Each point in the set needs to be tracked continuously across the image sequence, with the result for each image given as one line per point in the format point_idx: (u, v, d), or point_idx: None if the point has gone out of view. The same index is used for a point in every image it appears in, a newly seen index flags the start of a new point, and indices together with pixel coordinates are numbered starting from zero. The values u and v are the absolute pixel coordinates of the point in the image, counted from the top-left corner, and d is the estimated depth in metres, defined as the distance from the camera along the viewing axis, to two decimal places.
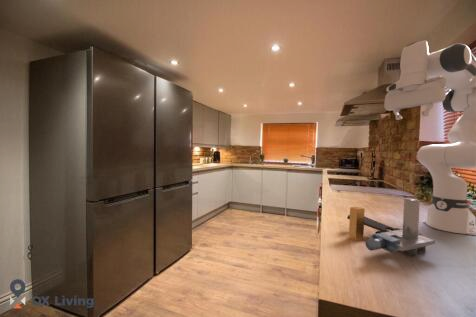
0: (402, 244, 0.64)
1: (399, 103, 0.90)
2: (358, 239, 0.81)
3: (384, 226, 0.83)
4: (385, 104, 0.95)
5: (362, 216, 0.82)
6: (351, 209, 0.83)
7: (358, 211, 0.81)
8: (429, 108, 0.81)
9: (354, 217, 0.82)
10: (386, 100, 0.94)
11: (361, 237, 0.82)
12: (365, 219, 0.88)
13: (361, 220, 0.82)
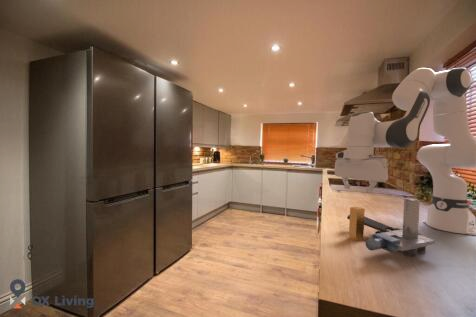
0: (402, 244, 0.64)
1: (347, 173, 0.85)
2: (358, 239, 0.81)
3: (384, 226, 0.83)
4: (335, 170, 0.90)
5: (362, 216, 0.82)
6: (351, 209, 0.83)
7: (358, 211, 0.81)
8: (373, 186, 0.77)
9: (354, 217, 0.82)
10: (336, 166, 0.90)
11: (361, 237, 0.82)
12: (365, 219, 0.88)
13: (361, 220, 0.82)
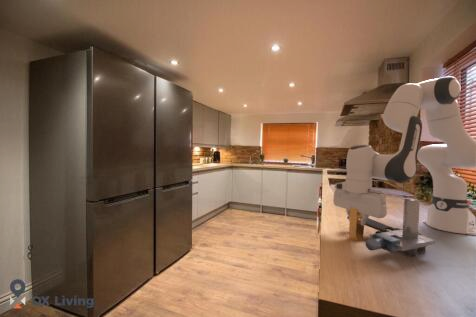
0: (402, 244, 0.64)
1: (346, 204, 0.85)
2: (358, 239, 0.81)
3: (384, 226, 0.83)
4: (334, 200, 0.91)
5: None
6: (351, 209, 0.83)
7: None
8: (365, 218, 0.79)
9: (354, 217, 0.82)
10: (335, 196, 0.90)
11: (361, 237, 0.82)
12: None
13: None
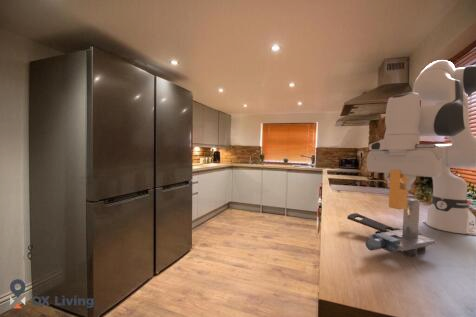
0: (402, 244, 0.64)
1: (384, 167, 0.71)
2: (401, 207, 0.67)
3: (384, 226, 0.83)
4: (367, 164, 0.76)
5: (406, 179, 0.67)
6: (392, 171, 0.68)
7: None
8: (411, 181, 0.65)
9: (396, 180, 0.67)
10: (369, 160, 0.75)
11: (405, 205, 0.67)
12: (365, 219, 0.88)
13: None
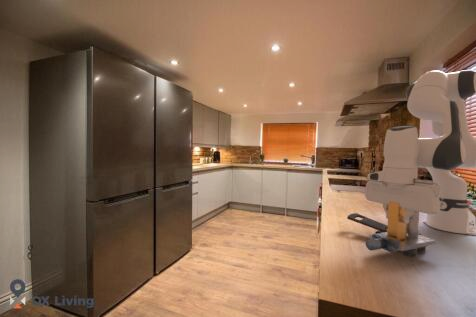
0: (402, 244, 0.64)
1: (383, 198, 0.71)
2: None
3: (384, 226, 0.83)
4: (366, 193, 0.76)
5: (404, 212, 0.67)
6: (390, 204, 0.68)
7: None
8: (409, 215, 0.65)
9: (394, 213, 0.67)
10: (367, 189, 0.76)
11: (403, 238, 0.68)
12: (365, 219, 0.88)
13: None
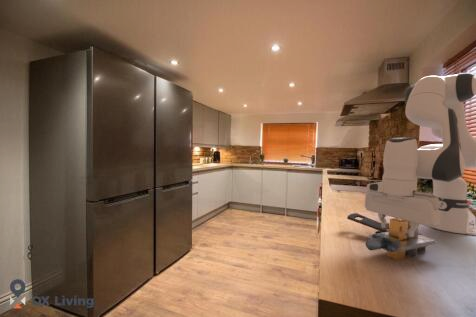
0: (402, 244, 0.64)
1: (382, 209, 0.71)
2: (399, 258, 0.67)
3: None
4: (366, 203, 0.76)
5: None
6: (391, 221, 0.68)
7: (402, 225, 0.66)
8: (415, 228, 0.64)
9: (395, 231, 0.67)
10: (367, 199, 0.76)
11: (402, 255, 0.68)
12: (365, 219, 0.88)
13: (404, 234, 0.67)
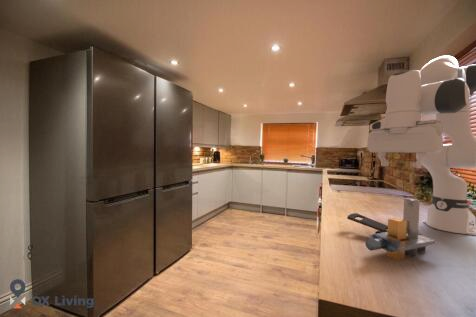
0: (402, 244, 0.64)
1: (385, 146, 0.71)
2: (399, 258, 0.67)
3: (384, 226, 0.83)
4: (368, 145, 0.76)
5: (404, 229, 0.68)
6: (390, 221, 0.69)
7: (400, 224, 0.67)
8: (422, 159, 0.62)
9: (393, 230, 0.67)
10: (369, 140, 0.75)
11: (402, 255, 0.68)
12: (365, 219, 0.88)
13: (402, 234, 0.67)
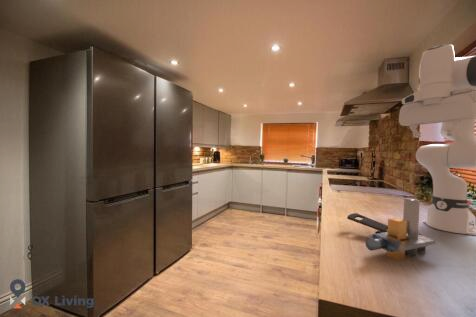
0: (402, 244, 0.64)
1: (418, 118, 0.75)
2: (399, 258, 0.67)
3: (384, 226, 0.83)
4: (400, 118, 0.80)
5: (404, 229, 0.68)
6: (390, 221, 0.69)
7: (400, 224, 0.67)
8: (456, 126, 0.67)
9: (393, 230, 0.67)
10: (401, 114, 0.80)
11: (402, 255, 0.68)
12: (365, 219, 0.88)
13: (402, 234, 0.67)
